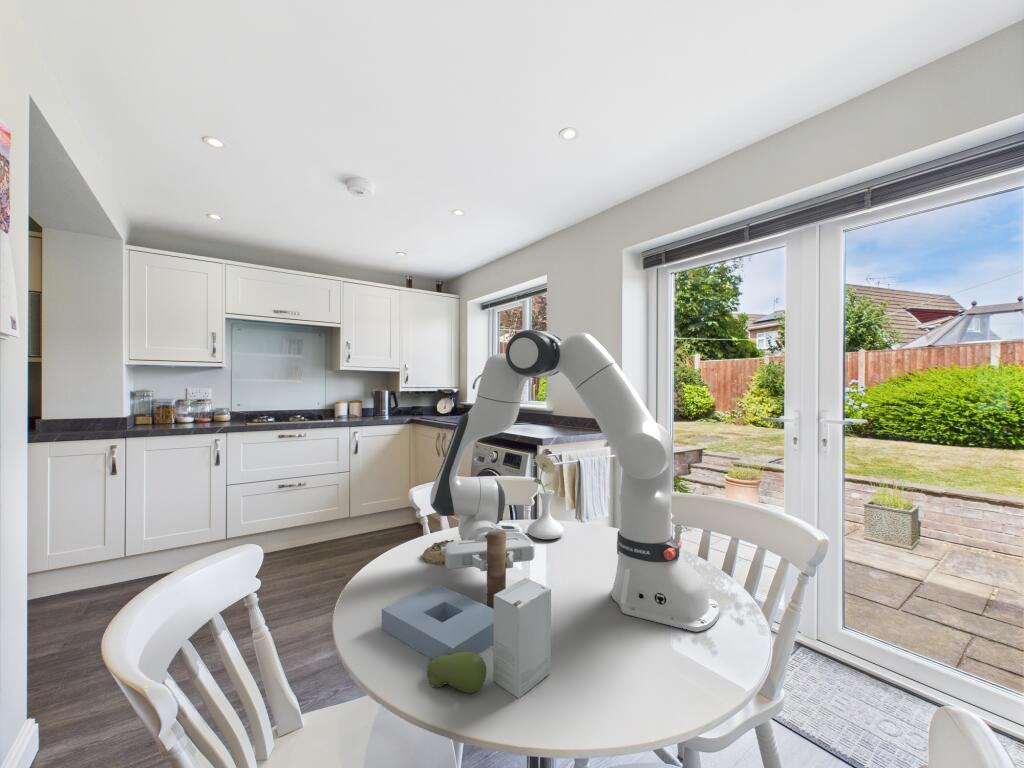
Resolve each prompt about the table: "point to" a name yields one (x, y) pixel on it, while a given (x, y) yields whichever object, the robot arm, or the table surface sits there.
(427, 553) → the bread roll
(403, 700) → the table surface
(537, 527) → the flower in vase
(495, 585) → the peg
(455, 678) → the pear
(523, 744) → the table surface
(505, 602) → the skincare box
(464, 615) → the socket board
